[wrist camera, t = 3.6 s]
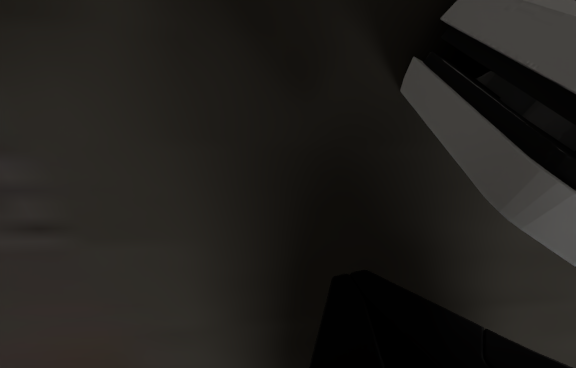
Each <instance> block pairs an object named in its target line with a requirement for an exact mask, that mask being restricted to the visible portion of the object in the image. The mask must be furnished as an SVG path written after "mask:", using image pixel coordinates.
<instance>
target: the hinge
mask: <svg viewBox="0 0 576 368" xmlns="http://www.w3.org/2000/svg"><path fill="white" fill-rule="evenodd" d="M440 19H441V20H442V21H444V22H445V23H447V24H448V25H450V26H449V27H448V28H447V30H446V31H445V33H444V34H443V35H442V37H441V38H442V39H443V40H445V41H446V42H448V43H449V44H451V45H452V46H454V47H455V48H457V49H459V50H460V51H462V52H463V53H465V54H466V55H468V56H469V57H471V58H472V59H474V60H475V61H477V62H479V63H480V64H482V65H483V66H485V67H486V68H488V69H489V70H491V71H490V72H488V73H486V74H484V75H482V76H481V77H478V78H474V77H472V76H471V75H470V74H468V73H467V72H465V71H463V70H462V69H460V68H458V67H457V66H455V65H453V64H452V63H450V62H449V61H447V60H445V59H444V58H442V57H440V56H439V55H437V54H436V53H434V52H432V51H431V52H430V54H429V55H428V56H427V58H426V59H425V60H424V62H423V61H421V60H419V59H418V58H416V57H413V59H412V61H411V63H410V65H409V67H408V70H407V72H406V74H405V76H404V79H403V83H402V86H401V89H400V92H401V93H402V94H403V96H404V97H405V98H406V100H407V101H408V102H409V103H410V105H411V106H412V107H413V108H414V110H415V111H416V112H417V113H418V115H419V116H420V117H421V118H422V120H423V121H424V122H425V123H426V125H427V126H428V127H429V128H430V130H431V131H432V132H433V133H434V135H435V136H436V137H437V138H438V140H439V141H440V142H441V143H442V145H443V146H444V147H445V148H446V150H447V151H448V152H449V153H450V155H451V156H452V157H453V158H454V160H455V161H456V162H457V163H458V165H459V166H460V167H461V169H462V170H463V171H464V172H465V174H466V175H467V176H468V177H469V179H470V180H471V181H472V182H473V184H474V185H475V186H476V187H477V189H478V190H479V191H480V192H481V194H482V195H483V196H484V197H485V198H486V200H487V201H488V202H489V203H490V204H491V205H492V206H493V207H494V208H495V209H497V210H498V211H499V212H500V213H501V214H502V215H503V216H504V217H505V218H506V219H508V220H509V221H510V222H511V223H513V224H514V225H515V226H517V227H518V228H519V229H521V230H522V231H524V232H525V233H527V234H528V235H530V236H531V237H532V238H534V239H535V240H537V241H538V242H540V243H541V244H543V245H544V246H546V247H547V248H549V249H550V250H551V251H553V252H554V253H556V254H557V255H559V256H560V257H562V258H563V259H565V260H566V261H568V262H569V263H571V264H572V265H573V266H575V267H576V153H575V151H576V1H575V0H457V1H456V2H455V3H454V4H453V5H452V6H451V7H450V9H449V10H448V11H447V12H446V13H445V14H444V15H443V16H442V17H441V18H440Z"/></svg>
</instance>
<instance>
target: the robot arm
mask: <svg viewBox="0 0 576 368" xmlns="http://www.w3.org/2000/svg"><path fill="white" fill-rule="evenodd" d="M309 368H573V367H570V366H568V365H565V364H563V363H561V362H558V361H556V360H554V359H551V358H549V357H546V356H544V355H542V354H539V353H537V352H535V351H532V350H530V349H528V348H526V347H524V346H522V345H520V344H517V343H515V342H513V341H511V340H509V339H507V338H504V337H502V336H500V335H498V334H496V333H494V332H492V331H490V330H488V329H485V330H484V328H483V327H482V326H480V325H478V324H476V323H474V322H472V321H470V320H468V319H465V318H463V317H461V316H459V315H457V314H455V313H453V312H451V311H449V310H447V309H445V308H443V307H441V306H439V305H437V304H435V303H433V302H431V301H429V300H427V299H425V298H423V297H421V296H419V295H417V294H415V293H413V292H411V291H408V290H406V289H404V288H402V287H400V286H398V285H396V284H394V283H392V282H390V281H388V280H386V279H384V278H382V277H380V276H378V275H376V274H374V273H372V272H370V271H368V270H361V271H356V272H352V273H351V274H350V275H349V274H343V275H339V276H334V277H333V278H332V281H331V285H330V289H329V293H328V297H327V300H326V304H325V308H324V312H323V316H322V320H321V324H320V328H319V332H318V336H317V339H316V343H315V347H314V351H313V355H312V359H311V363H310V367H309Z"/></svg>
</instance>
